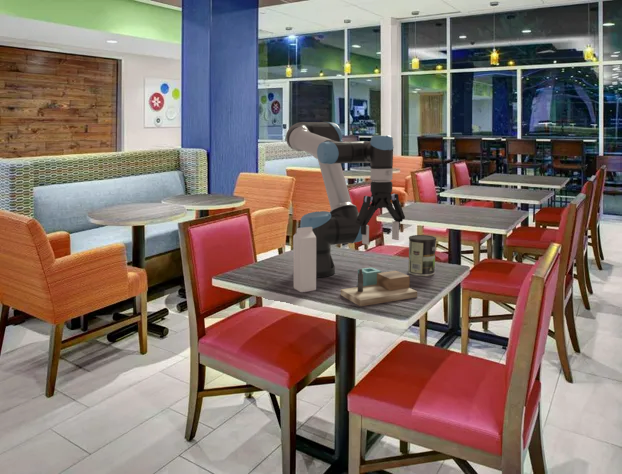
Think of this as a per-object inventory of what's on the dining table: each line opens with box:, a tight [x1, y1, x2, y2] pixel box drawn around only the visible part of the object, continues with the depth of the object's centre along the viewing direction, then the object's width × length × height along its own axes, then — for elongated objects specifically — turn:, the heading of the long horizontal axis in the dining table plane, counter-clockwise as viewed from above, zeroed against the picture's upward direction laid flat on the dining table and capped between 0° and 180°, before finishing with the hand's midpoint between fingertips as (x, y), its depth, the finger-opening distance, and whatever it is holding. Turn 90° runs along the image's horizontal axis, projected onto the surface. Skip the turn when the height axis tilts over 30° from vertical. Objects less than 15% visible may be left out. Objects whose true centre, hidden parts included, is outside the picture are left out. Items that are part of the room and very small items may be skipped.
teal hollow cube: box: [357, 266, 382, 286], centre depth 193 cm, size 6×6×6 cm
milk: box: [292, 227, 317, 293], centre depth 189 cm, size 6×6×22 cm
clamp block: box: [377, 270, 411, 290], centre depth 187 cm, size 8×8×4 cm
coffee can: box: [407, 234, 437, 277], centre depth 211 cm, size 10×10×14 cm
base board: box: [340, 268, 418, 307], centre depth 182 cm, size 13×22×10 cm, turn 116°
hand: (380, 241), depth 191 cm, fingers open, 13 cm apart
